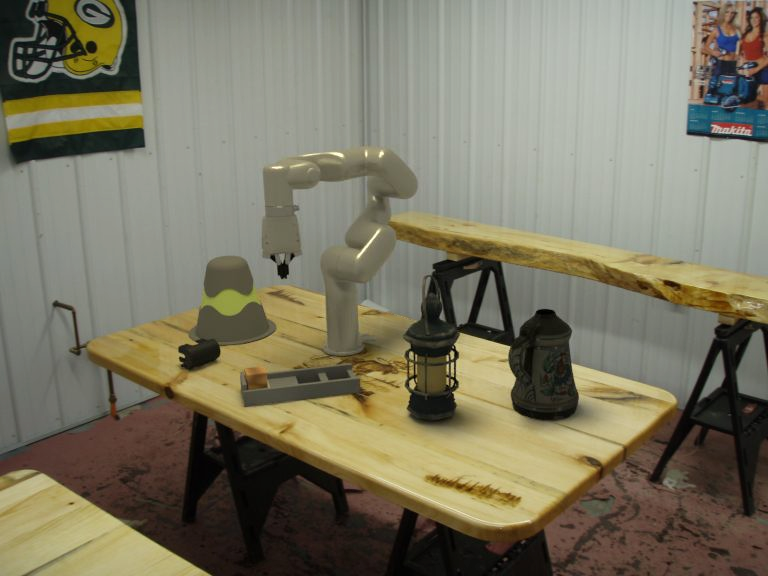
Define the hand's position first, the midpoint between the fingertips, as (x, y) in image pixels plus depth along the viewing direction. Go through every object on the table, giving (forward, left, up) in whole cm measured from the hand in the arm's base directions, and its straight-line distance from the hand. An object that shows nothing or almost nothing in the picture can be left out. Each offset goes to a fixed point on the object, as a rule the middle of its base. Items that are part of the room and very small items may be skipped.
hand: (283, 277), depth 212 cm
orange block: (+10, +16, -25) cm, 31 cm away
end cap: (+24, -12, -27) cm, 38 cm away
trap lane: (-1, +15, -27) cm, 31 cm away
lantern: (-30, +38, -27) cm, 56 cm away
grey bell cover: (+13, -39, -27) cm, 49 cm away
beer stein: (-57, +43, -27) cm, 76 cm away
